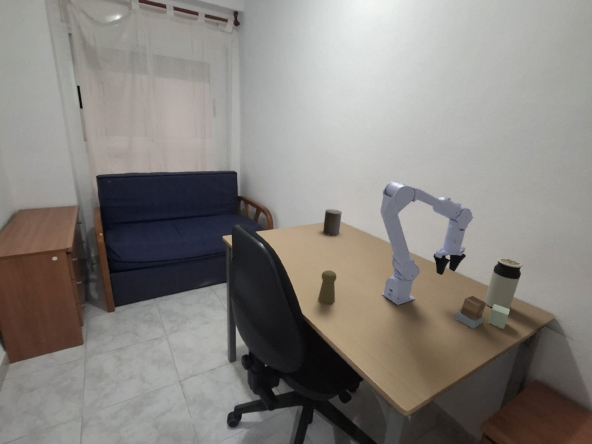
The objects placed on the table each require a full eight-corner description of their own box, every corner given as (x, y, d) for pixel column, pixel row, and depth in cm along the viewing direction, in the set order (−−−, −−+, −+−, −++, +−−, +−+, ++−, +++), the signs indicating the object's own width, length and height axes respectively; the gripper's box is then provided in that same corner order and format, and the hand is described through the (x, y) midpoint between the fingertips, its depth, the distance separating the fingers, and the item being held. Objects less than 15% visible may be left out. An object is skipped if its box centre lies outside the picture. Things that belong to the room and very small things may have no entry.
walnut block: (473, 320, 95) (478, 305, 93) (460, 312, 99) (464, 298, 97) (481, 317, 97) (486, 302, 95) (468, 309, 101) (472, 295, 99)
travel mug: (509, 314, 104) (525, 268, 99) (484, 306, 108) (497, 262, 103) (508, 304, 111) (522, 261, 106) (484, 297, 115) (496, 255, 110)
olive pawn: (324, 305, 102) (327, 277, 99) (315, 296, 107) (317, 269, 104) (338, 302, 105) (341, 274, 102) (328, 293, 110) (331, 267, 107)
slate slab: (473, 329, 95) (475, 322, 94) (455, 319, 100) (457, 312, 99) (481, 323, 98) (484, 316, 98) (463, 314, 103) (465, 307, 102)
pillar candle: (322, 234, 173) (325, 210, 168) (323, 229, 182) (326, 206, 178) (338, 236, 172) (342, 212, 167) (339, 231, 181) (342, 208, 176)
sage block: (503, 329, 96) (508, 315, 94) (487, 323, 99) (492, 309, 97) (505, 323, 99) (509, 309, 98) (489, 317, 102) (494, 303, 100)
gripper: (451, 244, 100) (443, 280, 104) (476, 239, 107) (467, 273, 111) (433, 237, 105) (426, 271, 109) (458, 233, 112) (450, 265, 116)
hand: (445, 272), depth 110 cm, fingers open, 7 cm apart
